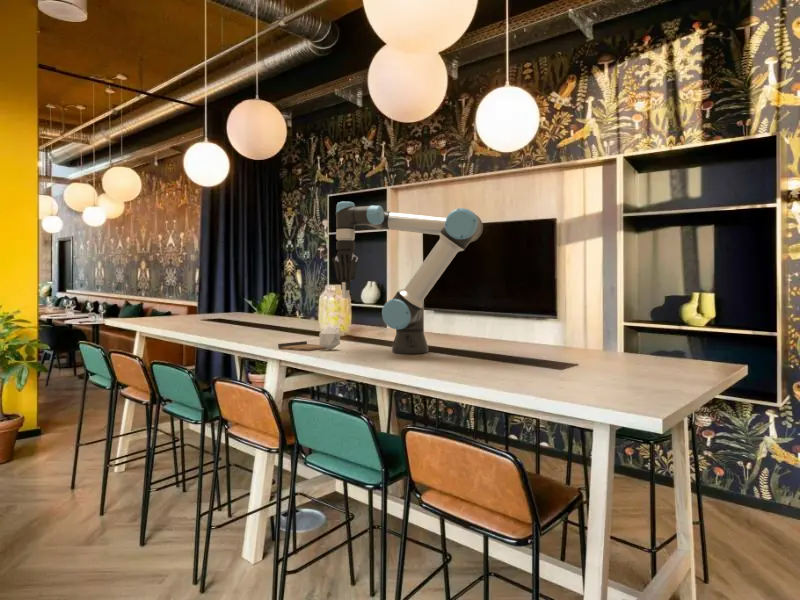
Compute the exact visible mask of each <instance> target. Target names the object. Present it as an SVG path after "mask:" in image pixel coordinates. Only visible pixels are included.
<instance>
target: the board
mask: <svg viewBox="0 0 800 600" xmlns="http://www.w3.org/2000/svg"><path fill="white" fill-rule="evenodd" d="M277 346H278V347H277V349H278V348H279V349H278V350H286V351H287V350H288V351H300V352H301V351H302V352H312V351H321V350H322V351H323V350H327V349H326V348H325V347H323V346H321V345H320V344H311V343H308V341H307V340H306V341H305V340H304V341H296V342H295V341H293V342H285V343H277Z"/></svg>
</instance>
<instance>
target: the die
mask: <svg viewBox="0 0 800 600" xmlns="http://www.w3.org/2000/svg"><path fill="white" fill-rule="evenodd" d="M318 337H319V339H318V340H319V342H318V343H319V344H318V345H321V346H323V347H325V348H326V349H325V350H328V351H331V350H332V349H333V350H334V349H335V348H336V347H337V346H340V345H341V333H340V332H339V331H338V330H336V329H335V328H332V327H331V326H328V327H327V328H325V329H324V330H322V331H320V332H319V336H318Z"/></svg>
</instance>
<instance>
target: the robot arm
mask: <svg viewBox="0 0 800 600" xmlns="http://www.w3.org/2000/svg"><path fill="white" fill-rule="evenodd" d="M335 210H336V211H335V216H336V218H335V219H336V222H335V223H336V230H335V231H336V235H335V239H336V240H337V241H336V242H335V243H336V249H335V250H337V253H336V256H335V257H333V258H332V262H333V264H334V270H335V275H336V280H337V281H338V282H340V290H341V298H342V299H350V291H351V282H352V281H355V278H356V272H357V267H358V262H359V261H360V256H357V255H355V249H356V244H355V243H356V242H355V238H356V237H355V236H356V230H355V228H356V226H369V227H373V228H375V229H377V230H382V231H383V230H391V231H400V232H409V233H415V234H416V233H417V234H425V235H426V234H427V235H435V236H439V240H438V241H436V243H435V245H434V246H433V248H432V249H431V250H430V252H429V254H428V255H427V256H426V257H425V259H424V261H423V262H422V263H421V264H420V266H419V267H418V269H417V270H416V272H415V273H414V274H413V276H412V277H411V279H410V280H409V281H408V283H407V284H406V286H405V288H402V289H398V291H397V292H396V293H395V295H393V297H392V299H389V300H388V301H387V302H385V303H384V305H383V307H382V309H381V316H382V320H383V322H384V324H386V326H387V327H389V328H390V329H393V330H395V336H394V339H393V343H392V346H391V352H392V353H394V354H407V355H408V354H409V355H410V354H411V355H412V354H425V353H426V354H427V353H429V346H428V342H427V339H426V336H425V322H424V321H425V320H424V319H425V315H424V314H425V311H424V310H425V309H424V307H425V303H424V299H426V297H427V296H428V295H429V292H430V291H431V290H432V289H433V288H434V286H435V284H436V283H437V281H438V280H439V279H440V278H441V276H442V275H443V274H444V272H445V271H446V269H447V268H448V266H449V265H450V264H451V262H452V261H453V259H454V258H455V257H456V255H457V254H458V253H459V252H463V251H465V250H466V248H467V247H468V245H469V244H470V243H472V242H475V241H477V240H478V239H479V237H481V235H482V234H483V229H484V228H483V227H484V224H483V222H482V220H481V218H480V217H479V216H478V215H477V214H476V213H475V212H474V211H472V210H471V209H468V208H463V207H460V208H459V207H458V208H456V209H453V210H452V211H450V213H448V215H447V216H438V215H429V214H428V215H427V214H416V213H406V212H397V211H387V210H384V208H383V207H382V206H381V205H374V204H372V205H364V206H363V205H362V206H356V205H355V203H354V202H352V201H340V202H339V201H338V202H337V204H336V207H335Z"/></svg>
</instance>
